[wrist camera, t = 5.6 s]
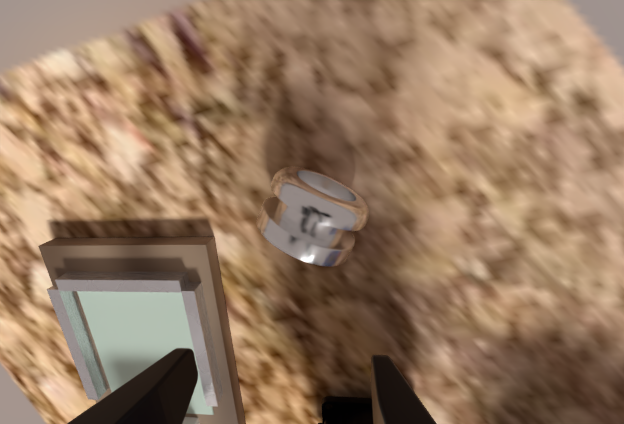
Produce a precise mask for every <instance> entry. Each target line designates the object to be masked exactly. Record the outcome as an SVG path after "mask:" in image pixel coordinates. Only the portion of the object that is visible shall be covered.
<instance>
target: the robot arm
mask: <svg viewBox="0 0 624 424" xmlns="http://www.w3.org/2000/svg"><path fill="white" fill-rule="evenodd" d="M197 380H198V370H197V365H196V361H195V356H194V352H193V350H192V349H190V348H176V349H174V350H172V351H171V352H170V353H168V354H167V355H165V356H164V357H162V358H161V359H160V360H158V361H157V362H155V363H154V364H152V365H151V366H149V367H148V368H147V369H145V370H144V371H142V372H141V373H139V374H138V375H136V376H135V377H134V378H132V379H131V380H129V381H128V382H126V383H125V384H124V385H122V386H121V387H119V388H118V389H116V390H115V391H113V392H112V393H111V394H109V395H108V396H106V397H105V398H103V399H102V400H100V401H99V402H98V403H96V404H95V405H93V406H92V407H90V408H89V409H88V410H86V411H85V412H83V413H82V414H80V415H79V416H77V417H76V418H75V419H73V420H72V421H70V422H69V423H67V424H183V421H184V418H185V416H186V413H187V410H188V407H189V404H190V401H191V398H192V396H193V393H194V390H195V387H196V384H197ZM371 393H372V398H354V397H335V396H326V397H324V398H323V399H322V420H323V423H318V424H436V422H435V421H434V419H433V418H432V417H431V415H430V414H429V412H428V411H427V409H426V408H425V407H424V405H423V404H422V402H421V401H420V400H419V398H418V397H417V395H416V394H415V392H414V391H413V390H412V388H411V387H410V385H409V384H408V382H407V381H406V380H405V378H404V377H403V375H402V374H401V372H400V371H399V370H398V368H397V367H396V365H395V364H394V363H393V361H392V360H391V358H390V357H389V356H387V355H373V356H372V357H371Z"/></svg>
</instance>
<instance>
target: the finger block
mask: <svg viewBox="0 0 624 424" xmlns="http://www.w3.org/2000/svg"><path fill="white" fill-rule="evenodd" d="M183 424H200V423H199V419H198V418H196V417H185V418H184V421H183Z"/></svg>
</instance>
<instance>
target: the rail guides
mask: <svg viewBox="0 0 624 424" xmlns="http://www.w3.org/2000/svg"><path fill="white" fill-rule="evenodd" d="M55 281H56V284H55V285H54V286H52V287H50V288H49V289H47V291H48V294H49V296H50V299H51V302H52V304H53V307H54V310H55V312H56V315H57V317H58V320H59V323H60V325H61V328H62V331H63V333H64V336H65V339H66V341H67V344H68V347H69V349H70V352H71V354H72V357H73V360H74V362H75V365H76V368H77V370H78V373H79V376H80V378H81V381H82V384H83V386H84V389H85V392H86V394H87V397H88V399H93V400H99V399H100V398H101V396H102V395H103V394H104V393H105V392H106V391H107V389H108V388H109V386H108V383H107V381H106V378H105V375H104V372H103V369H102V366H101V363H100V360H99V357H98V354H97V352H96V349H95V346H94V343H93V340H92V337H91V334H90V331H89V328H88V325H87V323H86V320H85V317H84V314H83V311H82V308H81V305H80V302H79V299H78V296H77V294H76V291H92V292H175V293H182V297H183V302H184V306H185V311H186V315H187V320H188V325H189V329H190V334H191V338H192V343H193V347H194V352H195V357H196V361H197V366H198V370H199V375H200V379H201V384H202V389H203V393H204V398H205V402H206V406H217V407H218V404H219V402H220V400H221V397H222V395H223V390H222V385H221V380H220V375H219V369H218V364H217V359H216V354H215V349H214V343H213V338H212V333H211V328H210V323H209V317H208V312H207V307H206V302H205V297H204V291H203V286H202V282H189V278H188V273H187V272H77V271H69V272H67V273H65V274H64V275H62V276H60V277H59V278H57V279H55Z"/></svg>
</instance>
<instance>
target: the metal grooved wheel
mask: <svg viewBox="0 0 624 424" xmlns="http://www.w3.org/2000/svg"><path fill="white" fill-rule="evenodd" d="M271 189H272V191H273V193H274V194H275V195H276V197H270V198H267V199H266V200H265V201H264V202H263V205H262V207H261V210H260V212H259V215H258V217H257V226H258V229H259V230H260V232H261V233H262V235H263V236H264V237H265V238H266V239H267V240H268V241H269V242H270V243H271V244H273V245H274V246H275V247H277V248H278V249H280V250H281V251H283V252H284V253H286V254H288V255H290V256H292V257H294V258H296V259H299V260H301V261H304V262H307V263H310V264H314V265H319V266H338V265H341V264H343V263H344V262H345V261H346V259H347V258H348V256H349V254H350V252H351V250H352V248H353V246H354V244H355V238H354V236H353V234H352V232H351V231H358V230H361V229H363V228H364V226H365V224H366V222H367V220H368V217H369V210H368V207H367V204H366V203H365V201H364V200H363V199H362V198H361V197H360V196H359V195H358V194H357V193H356V192H354V191H353V190H352V189H350V188H349V187H347V186H345V185H344V184H342V183H340V182H338V181H337V180H335V179H333V178H330V177H328V176H326V175H324V174H321V173H319V172H316V171H313V170H310V169H306V168H301V167H285V168H282V169H281V170H279V171H278V172H277V173H276V174H275V175H274V177H273V180H272V182H271Z"/></svg>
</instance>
